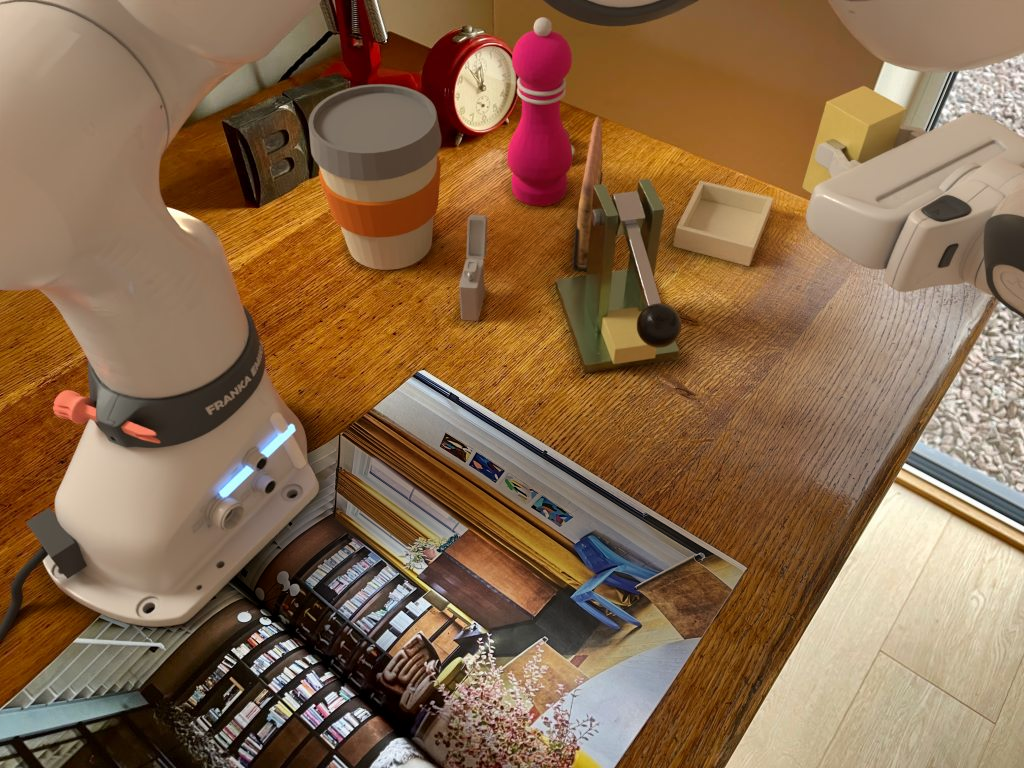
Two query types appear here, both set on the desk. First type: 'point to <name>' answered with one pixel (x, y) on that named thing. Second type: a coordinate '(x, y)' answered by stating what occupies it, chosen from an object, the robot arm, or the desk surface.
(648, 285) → the lever
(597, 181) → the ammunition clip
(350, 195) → the reusable coffee cup
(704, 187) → the butter dish
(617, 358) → the butter slab
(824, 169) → the butter
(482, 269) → the lighter
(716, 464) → the desk surface
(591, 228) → the slicer
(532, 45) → the pepper mill
